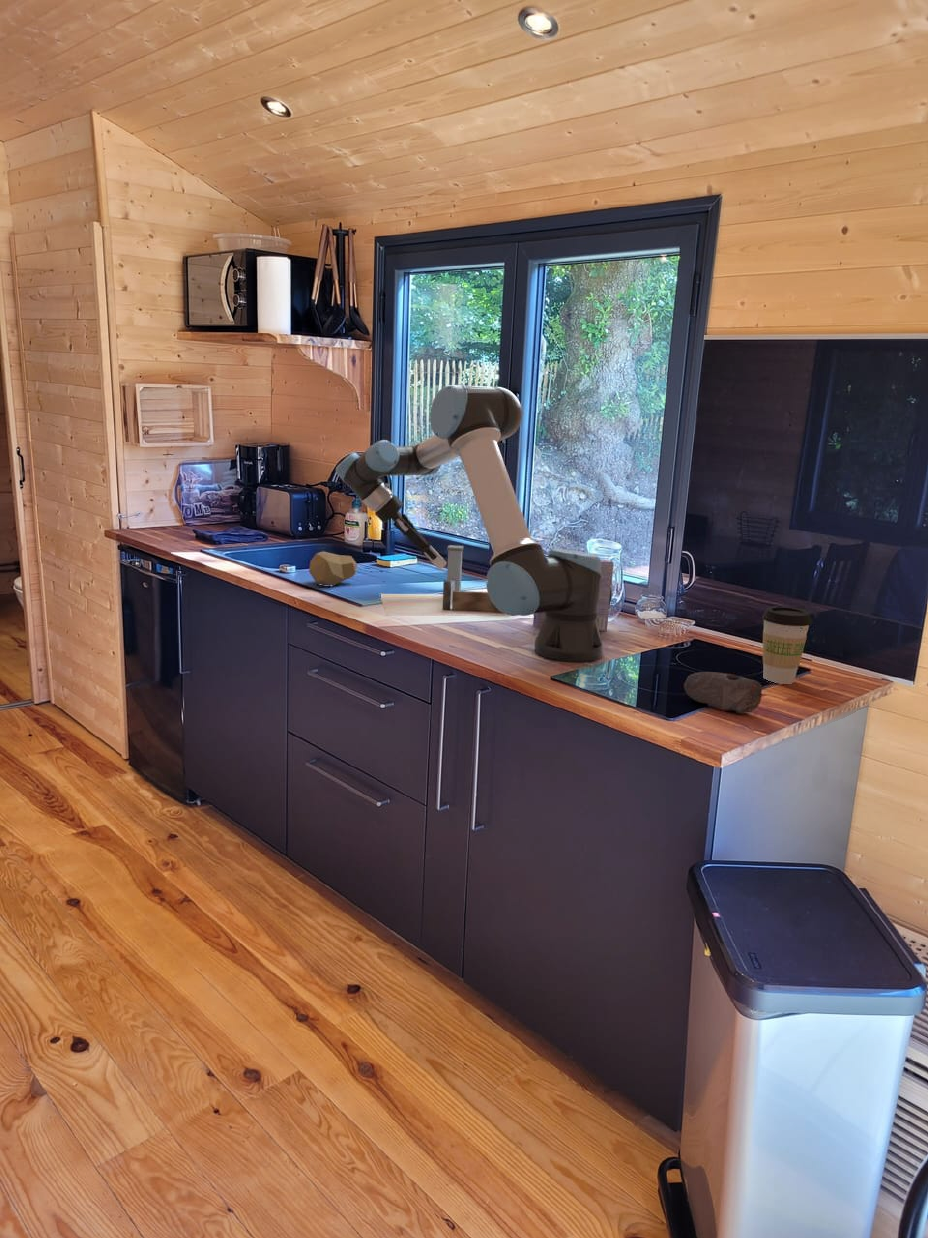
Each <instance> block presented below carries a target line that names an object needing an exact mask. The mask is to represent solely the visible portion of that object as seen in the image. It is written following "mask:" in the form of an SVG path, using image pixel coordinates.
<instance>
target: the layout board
mask: <svg viewBox="0 0 928 1238" xmlns="http://www.w3.org/2000/svg"><path fill="white" fill-rule="evenodd" d="M380 594H381V598H380V600H381V602H382V605H383V609H384V611H385V614H386V616H502V617H503V616H506V617H507V616H509V617H510V615H506V614H503V613H496V612H483V611H461V610H452V603H451V605H450V610H442V607H443V593H441V594H439V593H438V594H437V593H436V594H435V593H434V594H433V593H431V594H430V593H380Z"/></svg>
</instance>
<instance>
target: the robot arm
mask: <svg viewBox="0 0 928 1238" xmlns="http://www.w3.org/2000/svg"><path fill="white" fill-rule="evenodd" d="M429 415H430V416H429V417H430V421H429V422H430V426H431V430H432V432H433V434H434V435H433V436H431V437H428V438H427V439H425V440H423V441H421V442H420V443H417V444H415V445H408V446H407V445H404V446H401V445H399V446H396V444H394V443H393V442H391V441H389V440H387V439H382V440H379V441H376V442H375V443H373V444H372V445H370V446H368V448H367V449H366V450H365V451H364V452H363V453H361V455H359V454H358V453H357V452H355V451H352V452H351V453H349V455H348V456H346V457H345V458H344V459H343V460H342V461H341V462H340V463H339V464H338V465H337V466H336V468H335V472H336V474H337V475H338V476H339V478H340V479H341V480H342V482H343V483H344V484H346V486H347V487H348V488H349V489H351V490H352V492H353V494H355V495H356V496H357V497H358V498H359V499H360V500H361V502H362V503H364V505H365V506H366V507H367V508H368V509H369V510H370V511H371V512H374V515H375V516H376V517H377V518H378V519H379V520H380V522H382V523H387V522H388V521H389V520H390V519H391V520H392V521H393V526H394V528H395V529H397V530H399V532H401V533H402V534H403V536H406V537H407V539H408V540H410V541H411V543H412V544H413V545H415V546H416V547H417V549H418V550H419V552H420V553H419V554H420V555H421V556H422V555H425V557H426V558H427V559H428V560H429V561H430V562H431V563H432V564H433V565H434V566H435V567H436V568H437V569H438V570H439V571H441V570H442V569H443V568H444V567H445V566H446V565H448V561H446V560H445V558H443V557H442V555H440V554H439V552H438V551H436V550H435V548H434V547H433V546H432V544H433V542H431V541H429V542H428V540H427V539H425V537H424V536H423V534H422V533H420V532H419V531H418V530H417V528H416V527H415V526H414V524H413V523H412V522H411V520H409V518H408V516H407V514H405V513H403V514H402V513H401V512H399V511H400V510H401V509H402V507H403V506H404V503H403V502H402V501H401V500H400V498H399V497H398V496H397V495H396V494H395V495H394V494H393V491H392V490H391V489H390V488H389V487H390V485H389V483H384V481H383V480H382V479H381V477H384V476H385V477H387V476H388V477H389V476H392V477H393V476H429V475H434V474H437V473H438V471H439V469H440V468H441V466H442V465H444V464H446V463H449V462H450V461H452V460H454V459H457V458H458V457H460V459H461V463H462V465H463V469H464V471H465V474H466V476H467V480H468V482H469V483H468V484H469V486H470V489H471V491H472V494H473V497H474V500H475V503H476V505H477V508H478V512H479V515H480V517H481V520H482V523H483V525H484V528H485V532H486V534H487V537H488V539H489V540H488V541H489V543H490V546H491V548H492V551H493V555H492V556H491V559H490V561H489V565H490V568H489V569H488V572H487V573H486V574H487V575H486V579H487V581H486V583H485V584H486V592H488V595H489V597H490V599H491V601H492V603H493V604H494V606H495V607H496V608H497V609H498V610H499V611H501V612H502V613H505V614H506V615H510V616H511V617H517V616H520V617H528V616H531V615H534V614H535V613H542V612H545V618H544V620H543V623H542V625H541V628H540V629H539V631H538V632H537V635H536V638H535V642H534V652H535V653H536V654H538V655H539V656H542V657H544V658H548V659H551V660H557V661H562V662H563V661H564V662H578V663H579V662H590V661H591V662H592V661H595V660H598V659H600V658H601V657H603V656H602V655H603V648H604V647H603V641H602V637H601V633H600V632H601V631H599V628H598V624H597V613H598V603H599V593H600V582H601V576H602V573H601V560H602V559H600V557H599V556H597V555H595V554H592V553H590V552H586V551H585V552H584V551H578V550H571V549H565V548H555V547H554V548H551V549H550V550H549V553H548V554H547V556H548V557H546V555H545V552H544V549H543V546H542V545H541V543H539V542H537V541H535V540H533V539H532V537H531V534H530V531H529V529H528V525H527V524H526V520H525V517H524V515H523V512H522V509H521V507H520V504H519V501H518V498H517V496H516V492H515V490H514V489H515V488H514V487H513V484H512V481H511V479H510V478H511V477H510V475H509V473H508V470H507V468H506V465H505V461H504V459H503V456H502V454H501V451H500V448H499V446H498V443H500V442H501V441H503V440H506V439H508V438H509V437H511V436H513V435H514V434H515V433H516V432H517V431H518V430H519V428H520V425H521V423H522V421H523V420H522V419H523V407H522V405H521V402H520V400H519V398H518V397H517V396H516V395H515V394H514V393H513V392H512V391H511V390H509V389H507V388H504V387H501V386H493V385H492V386H486V385H485V386H484V385H465V384H462V383H459V384H458V383H457V384H448V385H445V386H443V387H442V388H440V389H439V390H438V391H437V393H436V395H435V397H434V398H433V400H432V403H431V408H430V413H429ZM510 616H509V617H510Z"/></svg>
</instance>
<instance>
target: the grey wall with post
mask: <svg viewBox="0 0 928 1238" xmlns="http://www.w3.org/2000/svg"><path fill="white" fill-rule="evenodd" d="M463 550H464V545H456V544H455V545H452V544H450V545H448V546H447V549H446V551H447V552H448V553H447V569H446V570H447V573H446V581H451V600H450V605H451V603H452V598H453V591H462V590H461V589H462V570H463V569H462V567H463Z"/></svg>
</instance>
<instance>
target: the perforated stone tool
mask: <svg viewBox="0 0 928 1238" xmlns="http://www.w3.org/2000/svg"><path fill="white" fill-rule="evenodd" d="M683 688H684V691H685V693H686V695H687V696H688V697H689V698H691V699H693V700H694V701H695V702H698V703H700V704H706V705H707V706H708V707H710V708H714V709H716V710H720V711H723V712H726V711H734V712H735V713H736V714H740V715H742V714H745V713H751V712H753V711H754V710H756V709H757V708H758V707H759V705H761V704H760V703H761V700H762V697H763V695H762V691H763V685H762V684H761V683H760V682H759V681H757V680H755V679H752V678H751V679H750V678H747V677H744V676H738V675H735V674H731V673H724V672H715V671H714V672H713V671H701V672H700V671H699V672H694V673H692V674H690V675H688V676H687V678H686V680H685V681H684V684H683Z"/></svg>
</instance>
